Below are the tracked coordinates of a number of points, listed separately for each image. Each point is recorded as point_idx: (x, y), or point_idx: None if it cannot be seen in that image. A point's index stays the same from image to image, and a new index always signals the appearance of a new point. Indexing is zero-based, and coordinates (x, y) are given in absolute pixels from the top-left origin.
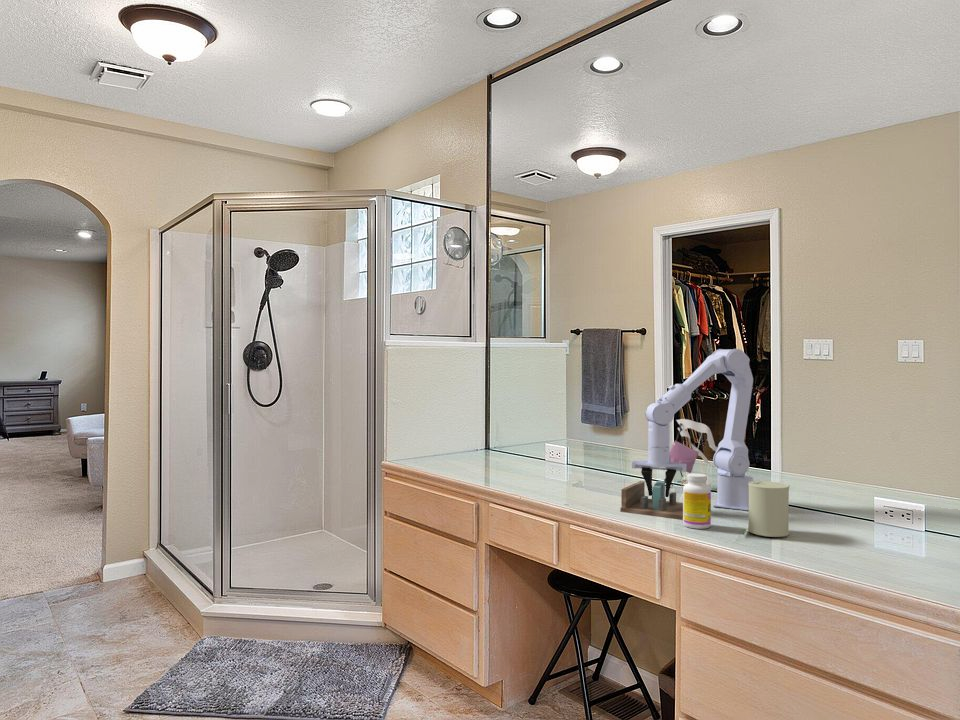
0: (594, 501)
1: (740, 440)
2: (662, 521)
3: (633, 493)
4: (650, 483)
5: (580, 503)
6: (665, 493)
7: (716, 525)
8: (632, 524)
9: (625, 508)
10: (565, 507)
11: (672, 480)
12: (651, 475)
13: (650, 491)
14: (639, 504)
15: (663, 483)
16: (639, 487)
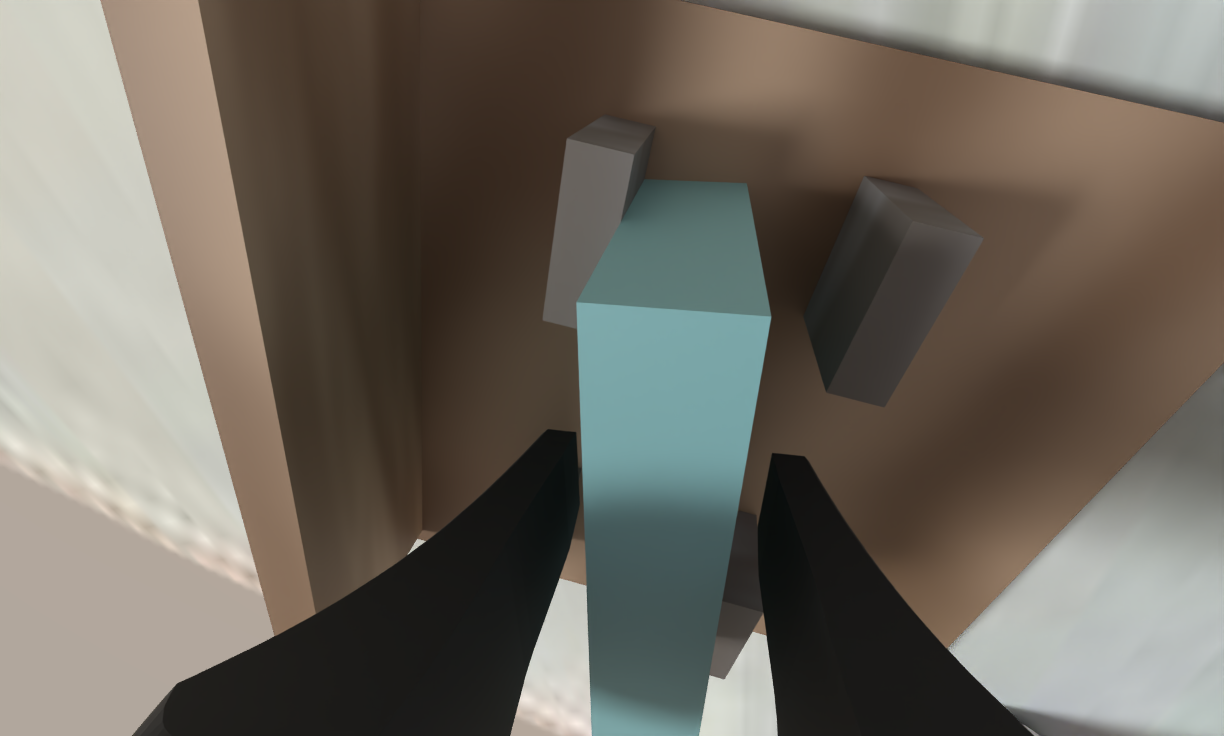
0: (12, 200)
1: None
2: (727, 678)
3: (358, 454)
4: (523, 659)
5: (9, 327)
6: (761, 576)
7: (1118, 729)
8: (568, 726)
9: (426, 539)
10: (54, 473)
11: (952, 678)
12: (458, 720)
13: (559, 561)
14: (479, 385)
15: (734, 523)
16: (306, 271)
